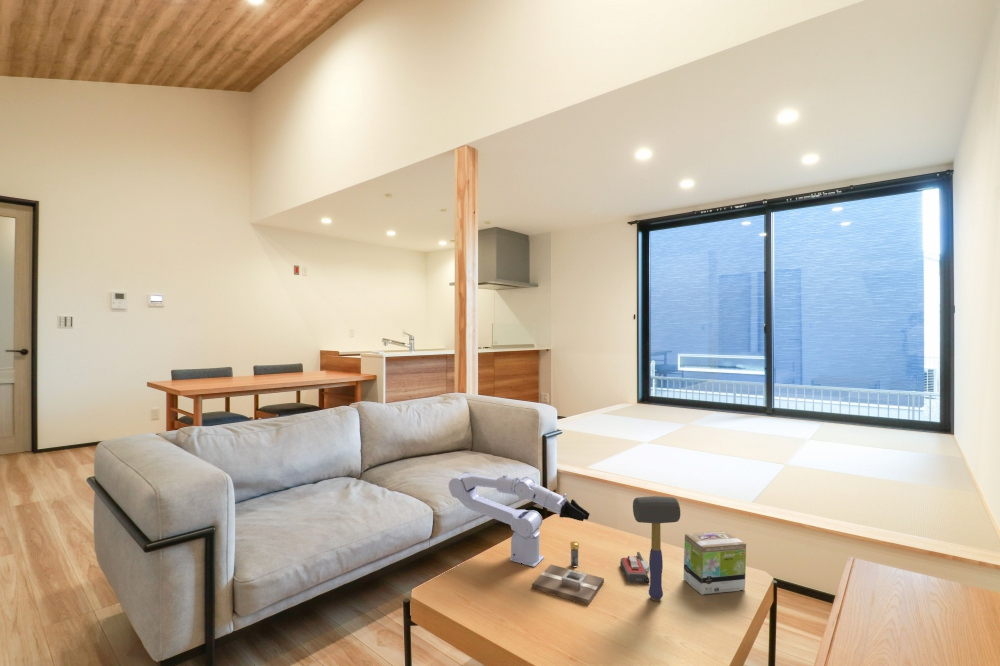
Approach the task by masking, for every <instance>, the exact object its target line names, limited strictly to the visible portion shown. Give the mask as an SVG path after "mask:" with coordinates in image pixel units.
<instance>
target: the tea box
mask: <svg viewBox="0 0 1000 666" xmlns="http://www.w3.org/2000/svg"><path fill="white" fill-rule="evenodd" d="M683 548H684V552H683V553H684V554H683V580H684V581H685V582H686V583H688V585H689V586H691V587H692V588H693V589H694V590H696V591H697V592H698V594H700V595H702V596H703V595H708V594H710V595H711V594H718V593H727V592H728V593H729V592H730V593H731V592H741V591H740V590H744V591H745V590H746V569H747V568H746V562H747V561H746V559H747V558H746V557H747V544H746V543H745V542H744V541H743V540H741V539H739V538H738V537H736V536H735V535H733V534H731V533H729V532H728V531H727V530H722V531H708V532H697V533H695V532H694V533H684V547H683Z"/></svg>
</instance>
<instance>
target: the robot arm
mask: <svg viewBox="0 0 1000 666" xmlns="http://www.w3.org/2000/svg"><path fill="white" fill-rule="evenodd" d="M478 487H480V488H481V487H483V488H488V489H489V488H491V489H496V491H497V492H498V493H502V494H507V495H513V496H517V497H518V499H519V500H526V499H527V500H529V501H531V502H533V503H536V504H537V505H540V506H541V507H543V508H545V509H548V510H550V511H551V512H552V513H553V512H554V513H555V514H557V515H558V516H559V518H567V519H573V520H576V521H579V522H584V520H586V521H588V519H589V517H590V512H588V511H587V510H586V509H584V508H583V507H582V506H580V505H579V504H578V502H577V501H576V500H575V499H574V498H573V499H571V500H570V502H569V500H568V499H567V496H568V494H567V493H564V494H563V495H560V494H559V493H557V492H555V491H552V490H550V489H548V488H546V487H544V486H542V485H539V484H538V483H536V482H535V480H534V479H532V478H530V477H528V476H524V477H523V478H520V477H519V476H515V477H512V476H508V474H505V473H504V474H503V475H500V476H499V477H498V478H497V477H492V476H488V475H483V474H479V473H476V472H473V471H472V472H470V471H466V472H463V473H462V474H460V475H458V476H456V477H454V478H451V479H450V480H449V482H448V489H449V492H450V494H451V497H453V498H455V499H457V500H458V501H459V502H460V503H461V505H464V507H465V508H466V509H468V510H471V511H473V512H475V513H479V514H481V515H484V516H486V517H489V518H492V519H494V520H497V521H499V522H502V523H504V524H506V525H507V524H508V525H509V526H510V528H511V531H514V532H513V534H512V536H511V538H510V539H511V540H510V558H509V561H510V562H515V563H518V564H521V563H522V565H525V566H530V567H533V568H535V567H537V565H538V564H539V563H540V562H541V561H543V560H544V558H545V556H544V555H540V553H541V552H540V551H541V549H540V547H541V544H540V542H541V541H540V538H541V537H540V536H541V535H540V534H541V533H540V528H541V527H542V524H543V517H542V514H540V513H539V512H538V511H537V510H534V509H532V510H526V509H516V508H513V507H510V506H507V505H504V504H501V503H499V502H496V501H494V500H491V499H489V498H488V499H487V498H486V497H482V496H480V495H479V494H478Z"/></svg>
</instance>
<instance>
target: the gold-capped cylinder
mask: <svg viewBox="0 0 1000 666" xmlns="http://www.w3.org/2000/svg"><path fill="white" fill-rule="evenodd" d="M569 545H570V566H571V565H572V566H578V567H579V549H580V542H577V541H570V544H569ZM572 566H571V567H572Z"/></svg>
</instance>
